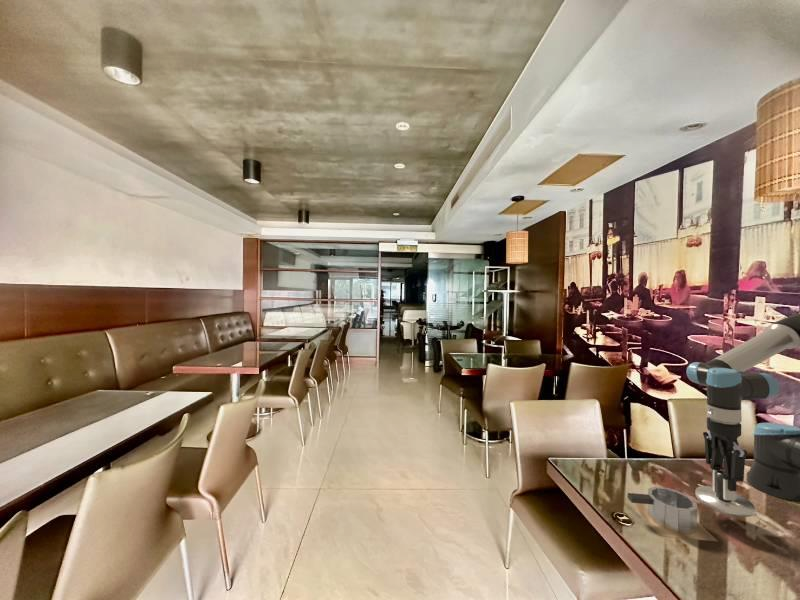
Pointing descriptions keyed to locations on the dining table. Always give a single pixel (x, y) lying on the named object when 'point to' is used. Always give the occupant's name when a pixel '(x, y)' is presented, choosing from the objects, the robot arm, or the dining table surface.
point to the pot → (669, 509)
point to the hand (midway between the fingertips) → (723, 495)
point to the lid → (716, 501)
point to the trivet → (699, 535)
